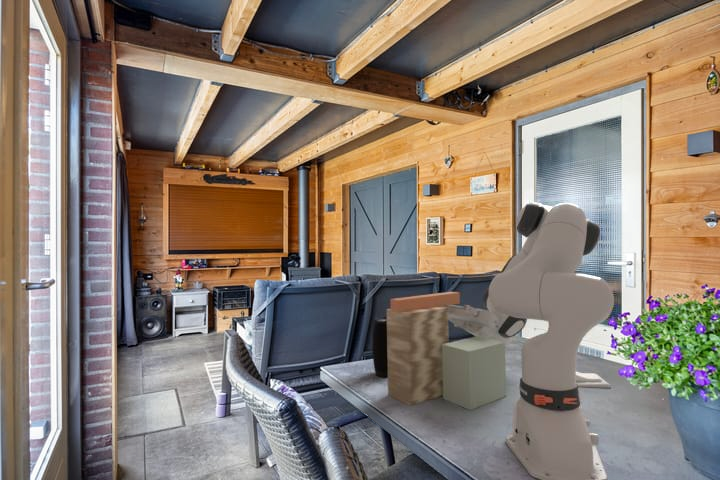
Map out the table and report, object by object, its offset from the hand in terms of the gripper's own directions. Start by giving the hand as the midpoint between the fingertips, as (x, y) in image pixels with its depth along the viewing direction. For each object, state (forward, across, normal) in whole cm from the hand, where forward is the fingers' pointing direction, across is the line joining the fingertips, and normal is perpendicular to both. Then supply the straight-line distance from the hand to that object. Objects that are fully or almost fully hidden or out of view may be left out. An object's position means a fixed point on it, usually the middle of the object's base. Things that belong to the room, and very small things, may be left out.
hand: (454, 305), depth 132 cm
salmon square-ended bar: (+11, 0, -6) cm, 13 cm away
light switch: (-42, -25, -6) cm, 49 cm away
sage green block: (-8, -12, -24) cm, 29 cm away
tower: (+1, 0, -30) cm, 30 cm away
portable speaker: (-2, +20, -28) cm, 35 cm away
